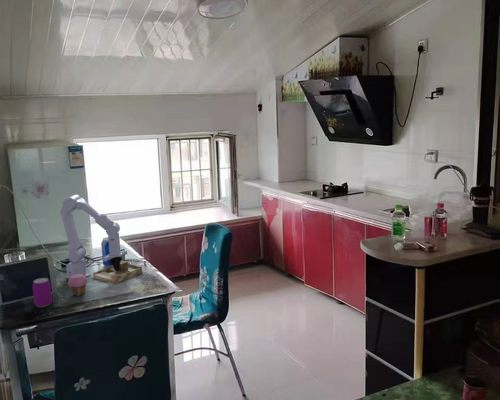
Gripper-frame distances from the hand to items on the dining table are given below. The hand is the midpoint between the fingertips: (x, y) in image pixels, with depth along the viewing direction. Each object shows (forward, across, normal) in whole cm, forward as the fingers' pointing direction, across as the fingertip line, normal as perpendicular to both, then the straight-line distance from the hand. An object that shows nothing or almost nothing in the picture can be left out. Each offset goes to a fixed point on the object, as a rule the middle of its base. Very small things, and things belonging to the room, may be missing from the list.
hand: (116, 270), depth 269 cm
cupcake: (+3, -27, -5) cm, 28 cm away
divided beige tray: (+3, 0, 0) cm, 3 cm away
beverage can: (+3, -44, -2) cm, 45 cm away
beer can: (+3, +10, +17) cm, 20 cm away
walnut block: (+1, +4, 0) cm, 4 cm away
